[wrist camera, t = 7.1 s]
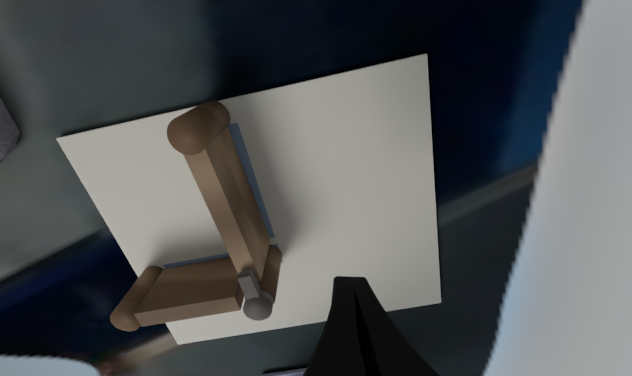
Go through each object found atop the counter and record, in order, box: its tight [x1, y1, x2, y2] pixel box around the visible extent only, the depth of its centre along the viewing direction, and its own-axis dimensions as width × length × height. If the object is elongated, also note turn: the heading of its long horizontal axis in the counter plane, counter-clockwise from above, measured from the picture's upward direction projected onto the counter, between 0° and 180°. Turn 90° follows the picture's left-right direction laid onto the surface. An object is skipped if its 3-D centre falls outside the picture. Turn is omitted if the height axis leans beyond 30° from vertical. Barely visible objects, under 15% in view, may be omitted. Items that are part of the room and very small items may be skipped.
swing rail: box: [167, 100, 274, 321], centre depth 19 cm, size 13×2×5 cm, turn 14°
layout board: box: [56, 54, 441, 345], centre depth 23 cm, size 20×24×1 cm
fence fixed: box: [110, 245, 282, 331], centre depth 22 cm, size 2×12×5 cm, turn 102°
